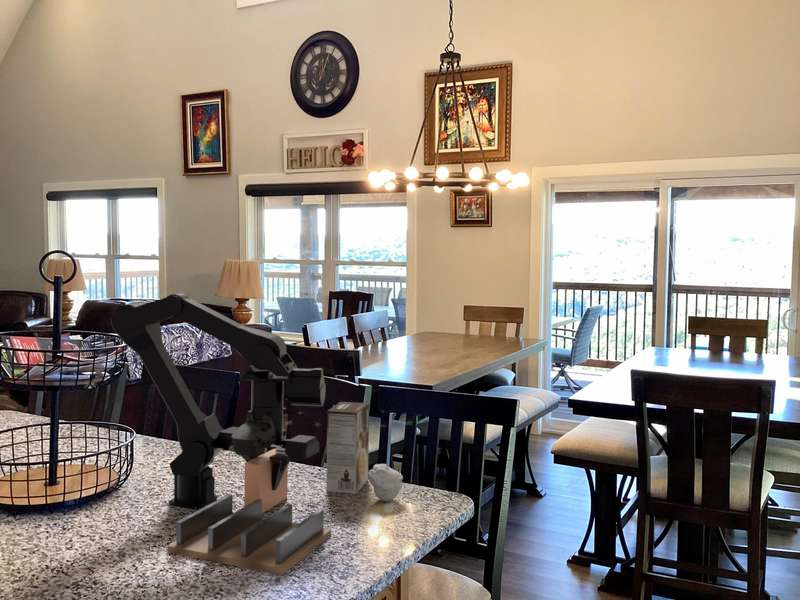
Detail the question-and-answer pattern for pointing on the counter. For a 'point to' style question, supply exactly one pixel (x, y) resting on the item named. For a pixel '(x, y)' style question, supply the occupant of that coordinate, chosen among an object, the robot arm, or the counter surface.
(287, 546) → the rack dividers
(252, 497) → the peach rectangular block
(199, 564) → the counter surface
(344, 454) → the coffee box
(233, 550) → the rack base
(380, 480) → the white rounded lump
